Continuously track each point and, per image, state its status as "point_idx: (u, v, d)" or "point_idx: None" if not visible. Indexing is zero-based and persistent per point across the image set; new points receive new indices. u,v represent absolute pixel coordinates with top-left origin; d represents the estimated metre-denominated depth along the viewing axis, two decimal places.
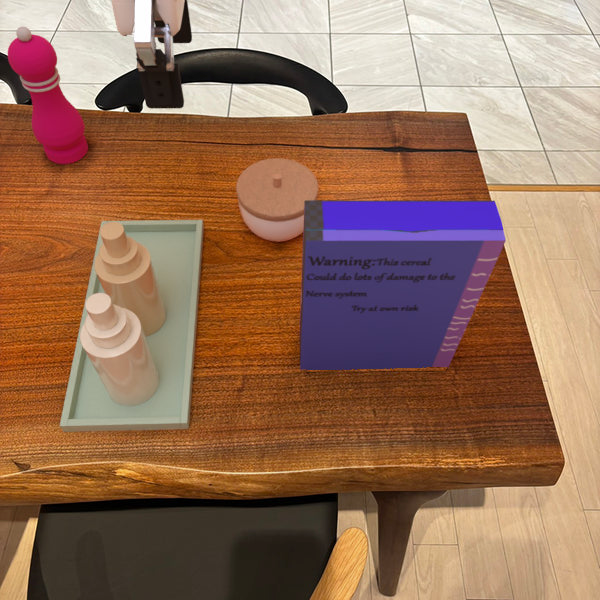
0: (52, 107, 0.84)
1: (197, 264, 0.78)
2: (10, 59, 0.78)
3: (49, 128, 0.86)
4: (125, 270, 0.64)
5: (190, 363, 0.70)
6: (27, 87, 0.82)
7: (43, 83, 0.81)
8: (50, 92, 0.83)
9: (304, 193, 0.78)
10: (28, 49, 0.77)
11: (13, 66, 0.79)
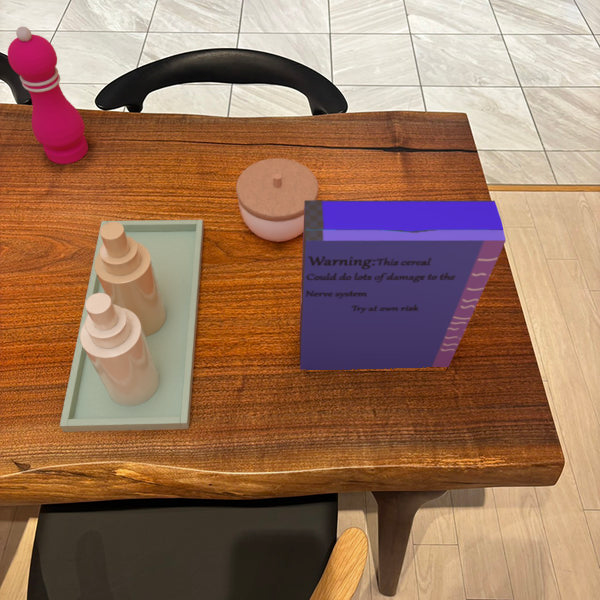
0: (52, 107, 0.84)
1: (197, 264, 0.78)
2: (10, 59, 0.78)
3: (49, 128, 0.86)
4: (125, 270, 0.64)
5: (190, 363, 0.70)
6: (27, 87, 0.82)
7: (43, 83, 0.81)
8: (50, 92, 0.83)
9: (304, 193, 0.78)
10: (28, 49, 0.77)
11: (13, 66, 0.79)
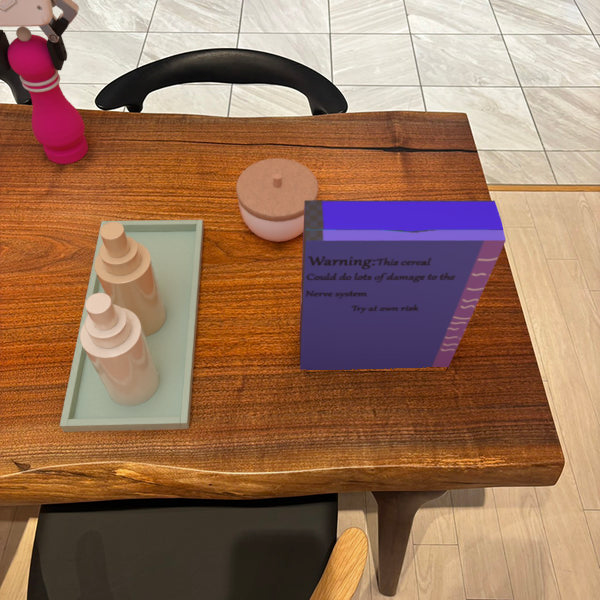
0: (52, 107, 0.84)
1: (197, 264, 0.78)
2: (10, 59, 0.78)
3: (49, 128, 0.86)
4: (125, 270, 0.64)
5: (190, 363, 0.70)
6: (27, 87, 0.82)
7: (43, 83, 0.81)
8: (50, 92, 0.83)
9: (304, 193, 0.78)
10: (28, 49, 0.77)
11: (13, 66, 0.79)
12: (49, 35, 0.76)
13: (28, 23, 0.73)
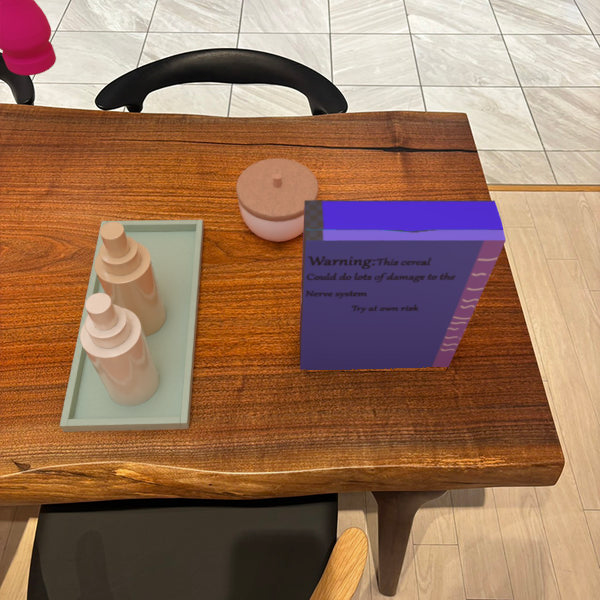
0: None
1: (197, 264, 0.78)
2: None
3: (7, 26, 0.72)
4: (125, 270, 0.64)
5: (190, 363, 0.70)
6: None
7: None
8: None
9: (304, 193, 0.78)
10: None
11: None
12: None
13: None
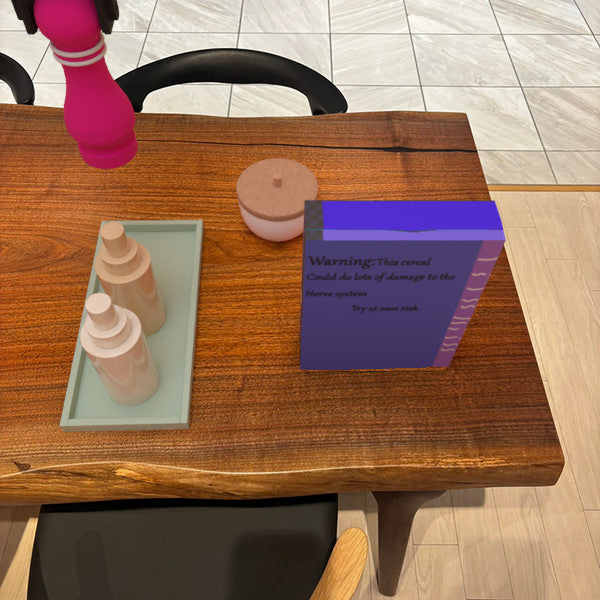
0: (95, 89, 0.59)
1: (197, 264, 0.78)
2: (38, 16, 0.53)
3: (89, 119, 0.61)
4: (125, 270, 0.64)
5: (190, 363, 0.70)
6: (61, 59, 0.57)
7: (84, 53, 0.56)
8: (93, 67, 0.58)
9: (304, 193, 0.78)
10: (64, 0, 0.52)
11: (42, 26, 0.54)
12: None
13: None
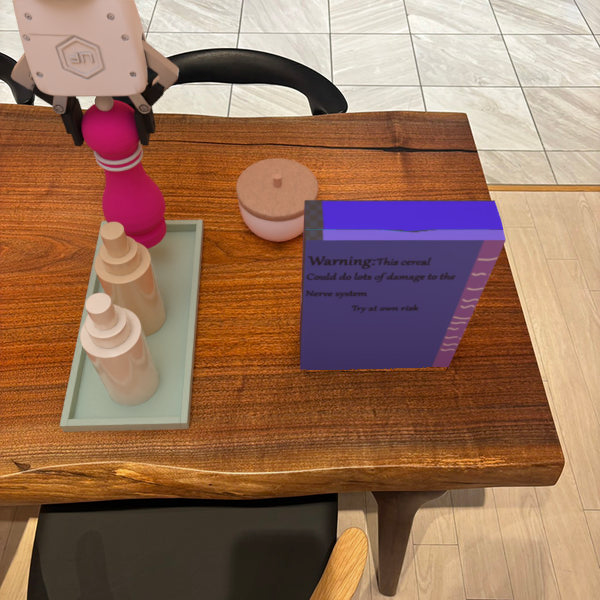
0: (132, 187, 0.67)
1: (197, 264, 0.78)
2: (85, 133, 0.61)
3: (126, 212, 0.68)
4: (125, 270, 0.64)
5: (190, 363, 0.70)
6: (103, 165, 0.64)
7: (124, 161, 0.63)
8: (131, 170, 0.65)
9: (304, 193, 0.78)
10: (109, 121, 0.60)
11: (89, 142, 0.61)
12: (139, 105, 0.59)
13: (116, 93, 0.56)
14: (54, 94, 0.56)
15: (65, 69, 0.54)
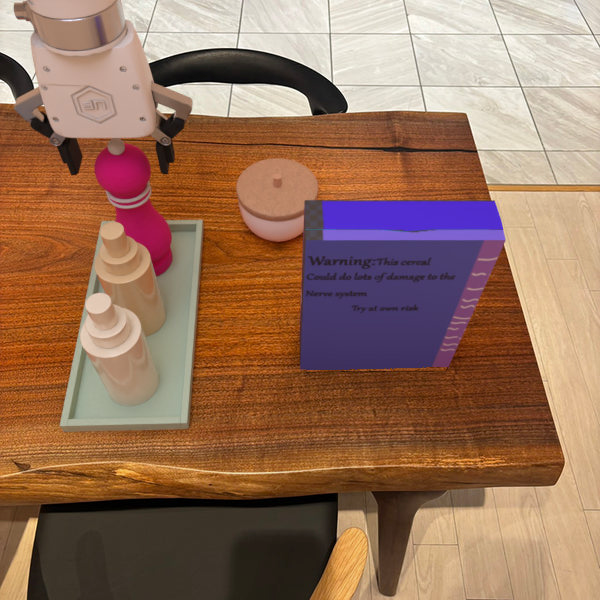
0: (141, 222, 0.71)
1: (197, 264, 0.78)
2: (99, 175, 0.65)
3: None
4: (125, 270, 0.64)
5: (190, 363, 0.70)
6: (114, 203, 0.69)
7: (134, 199, 0.68)
8: (140, 207, 0.70)
9: (304, 193, 0.78)
10: (121, 164, 0.64)
11: (102, 183, 0.66)
12: (160, 138, 0.62)
13: (126, 135, 0.60)
14: (69, 136, 0.60)
15: (79, 115, 0.58)
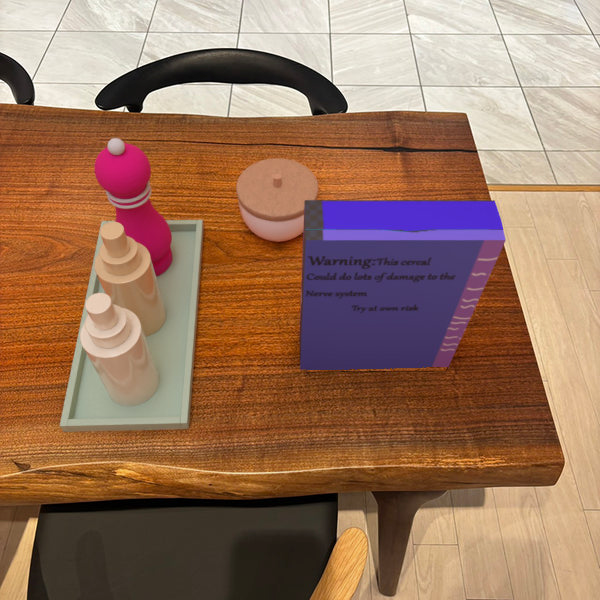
0: (141, 222, 0.71)
1: (197, 264, 0.78)
2: (99, 175, 0.65)
3: None
4: (125, 270, 0.64)
5: (190, 363, 0.70)
6: (114, 203, 0.69)
7: (134, 199, 0.68)
8: (140, 207, 0.70)
9: (304, 193, 0.78)
10: (121, 164, 0.64)
11: (102, 183, 0.66)
12: None
13: None
14: None
15: None
